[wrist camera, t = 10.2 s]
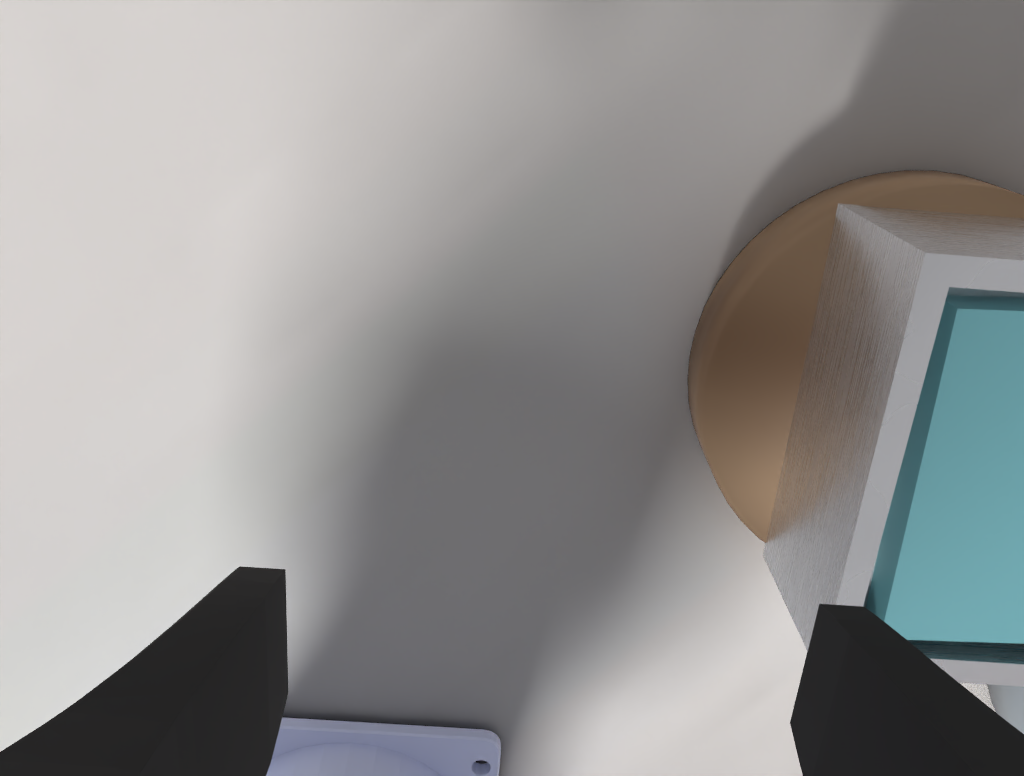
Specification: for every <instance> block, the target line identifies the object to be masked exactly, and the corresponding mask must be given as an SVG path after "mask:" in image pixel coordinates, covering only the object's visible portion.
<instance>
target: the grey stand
mask: <svg viewBox="0 0 1024 776" xmlns="http://www.w3.org/2000/svg"><path fill="white" fill-rule="evenodd" d="M987 685H988V689H989V693H990V697H991V701H992V704H993V706H994V708H995V710H996V713H997V714H998V715H1000V716H1001V717H1002V718H1003V719H1005V720H1006V721H1007V722H1009V723H1010V724H1011V725H1013V726H1014V727H1015V728H1016V729H1018V730H1019V731H1020V732H1022V733H1023V734H1024V687H1021V686H1006V685H990V684H987Z"/></svg>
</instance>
